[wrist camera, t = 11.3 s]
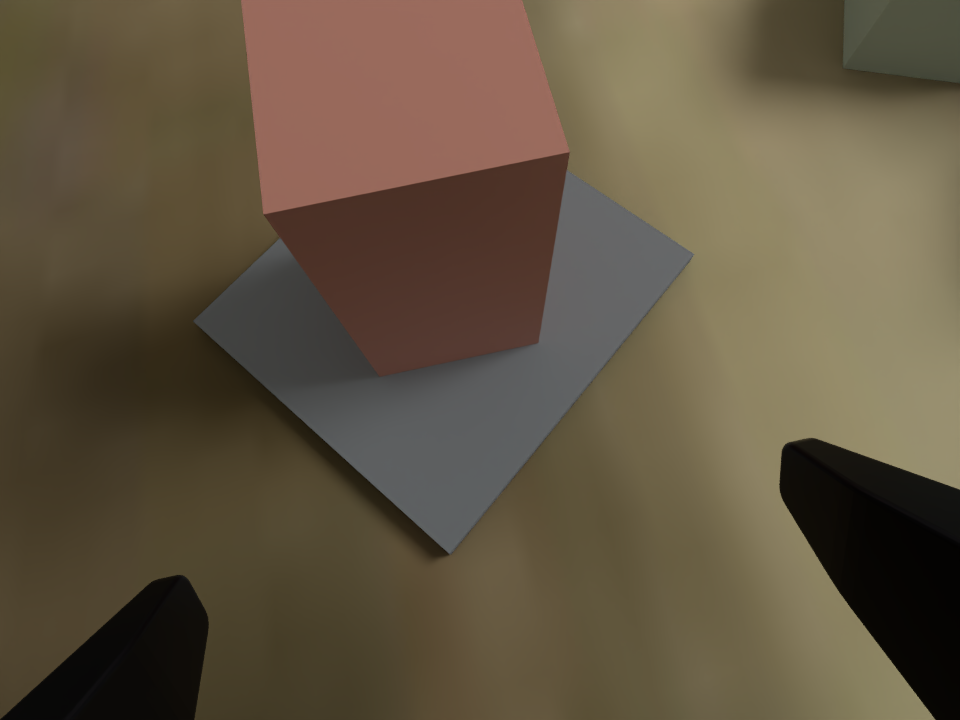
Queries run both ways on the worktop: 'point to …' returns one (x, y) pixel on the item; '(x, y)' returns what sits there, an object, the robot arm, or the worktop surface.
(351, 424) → the slate mat
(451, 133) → the brick-red block
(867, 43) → the sage block
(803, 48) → the worktop surface
